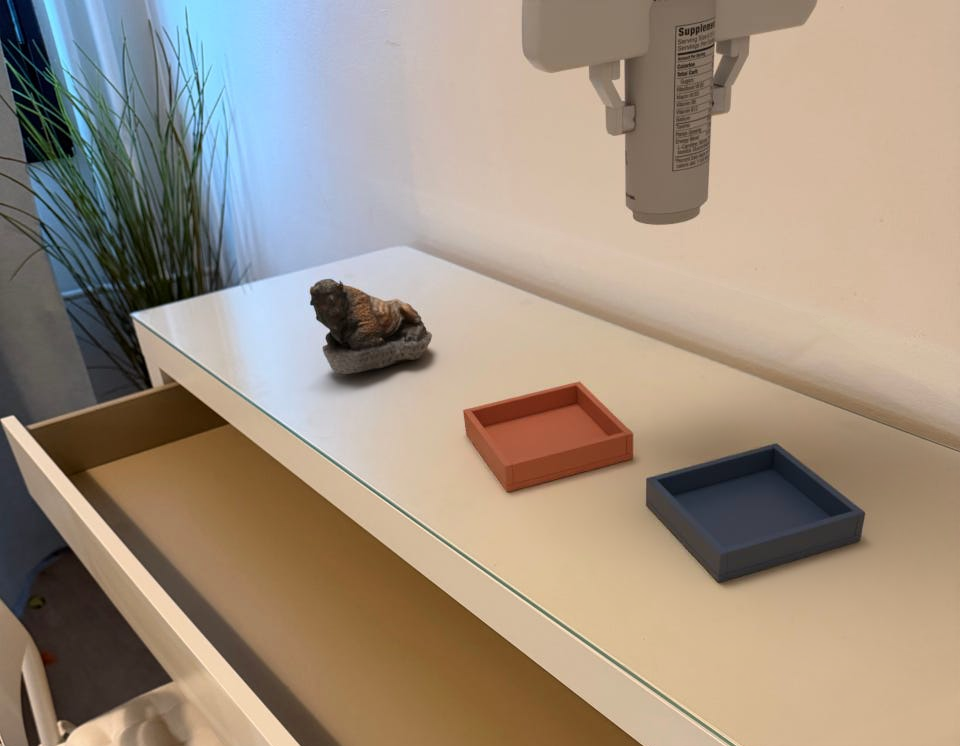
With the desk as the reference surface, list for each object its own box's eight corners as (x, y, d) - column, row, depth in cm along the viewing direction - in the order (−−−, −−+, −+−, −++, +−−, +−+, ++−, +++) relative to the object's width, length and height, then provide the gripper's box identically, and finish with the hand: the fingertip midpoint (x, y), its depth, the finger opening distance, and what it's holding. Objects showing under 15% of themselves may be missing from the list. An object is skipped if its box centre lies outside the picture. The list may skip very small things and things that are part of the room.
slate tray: (773, 469, 74) (776, 442, 72) (860, 541, 66) (866, 512, 64) (645, 504, 72) (645, 477, 70) (718, 583, 64) (720, 554, 62)
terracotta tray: (580, 405, 86) (579, 380, 84) (633, 459, 77) (633, 433, 76) (465, 434, 84) (462, 409, 82) (507, 492, 76) (504, 466, 74)
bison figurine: (415, 340, 101) (401, 245, 95) (448, 360, 97) (435, 261, 90) (316, 374, 97) (294, 277, 91) (344, 396, 92) (323, 295, 86)
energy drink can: (657, 198, 73) (660, -36, 63) (723, 207, 70) (736, -39, 60) (609, 220, 70) (604, -21, 60) (675, 232, 67) (681, -23, 57)
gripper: (532, -104, 53) (547, 160, 62) (848, -154, 56) (820, 104, 65) (497, -104, 58) (516, 142, 67) (791, -149, 61) (771, 91, 70)
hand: (668, 123), depth 66 cm, fingers closed on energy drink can, 6 cm apart
